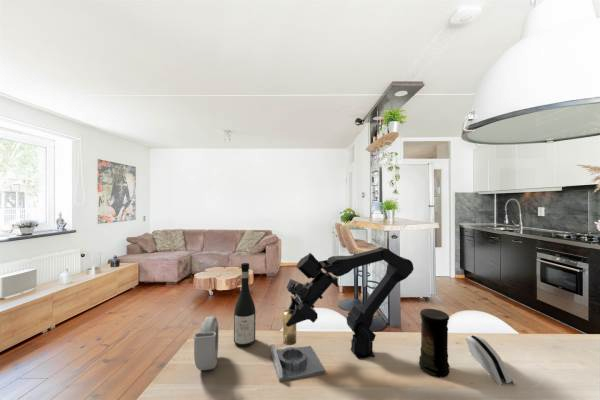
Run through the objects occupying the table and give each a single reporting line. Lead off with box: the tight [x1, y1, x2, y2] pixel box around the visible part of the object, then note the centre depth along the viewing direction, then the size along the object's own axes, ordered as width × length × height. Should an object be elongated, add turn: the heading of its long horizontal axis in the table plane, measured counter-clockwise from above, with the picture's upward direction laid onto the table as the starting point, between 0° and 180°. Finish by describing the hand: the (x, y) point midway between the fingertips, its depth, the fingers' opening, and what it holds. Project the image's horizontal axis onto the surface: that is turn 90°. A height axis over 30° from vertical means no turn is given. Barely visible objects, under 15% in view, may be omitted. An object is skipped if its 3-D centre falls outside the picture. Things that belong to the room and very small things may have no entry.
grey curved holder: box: [193, 315, 219, 371], centre depth 89 cm, size 17×6×15 cm, turn 9°
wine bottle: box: [233, 262, 256, 348], centre depth 104 cm, size 8×8×30 cm
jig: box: [270, 343, 326, 382], centre depth 91 cm, size 14×15×3 cm
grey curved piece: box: [465, 334, 516, 386], centre depth 89 cm, size 17×5×10 cm, turn 173°
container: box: [418, 308, 450, 379], centre depth 88 cm, size 9×9×18 cm
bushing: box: [282, 308, 297, 346], centre depth 92 cm, size 4×4×10 cm
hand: (285, 322), depth 92 cm, fingers closed on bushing, 4 cm apart
